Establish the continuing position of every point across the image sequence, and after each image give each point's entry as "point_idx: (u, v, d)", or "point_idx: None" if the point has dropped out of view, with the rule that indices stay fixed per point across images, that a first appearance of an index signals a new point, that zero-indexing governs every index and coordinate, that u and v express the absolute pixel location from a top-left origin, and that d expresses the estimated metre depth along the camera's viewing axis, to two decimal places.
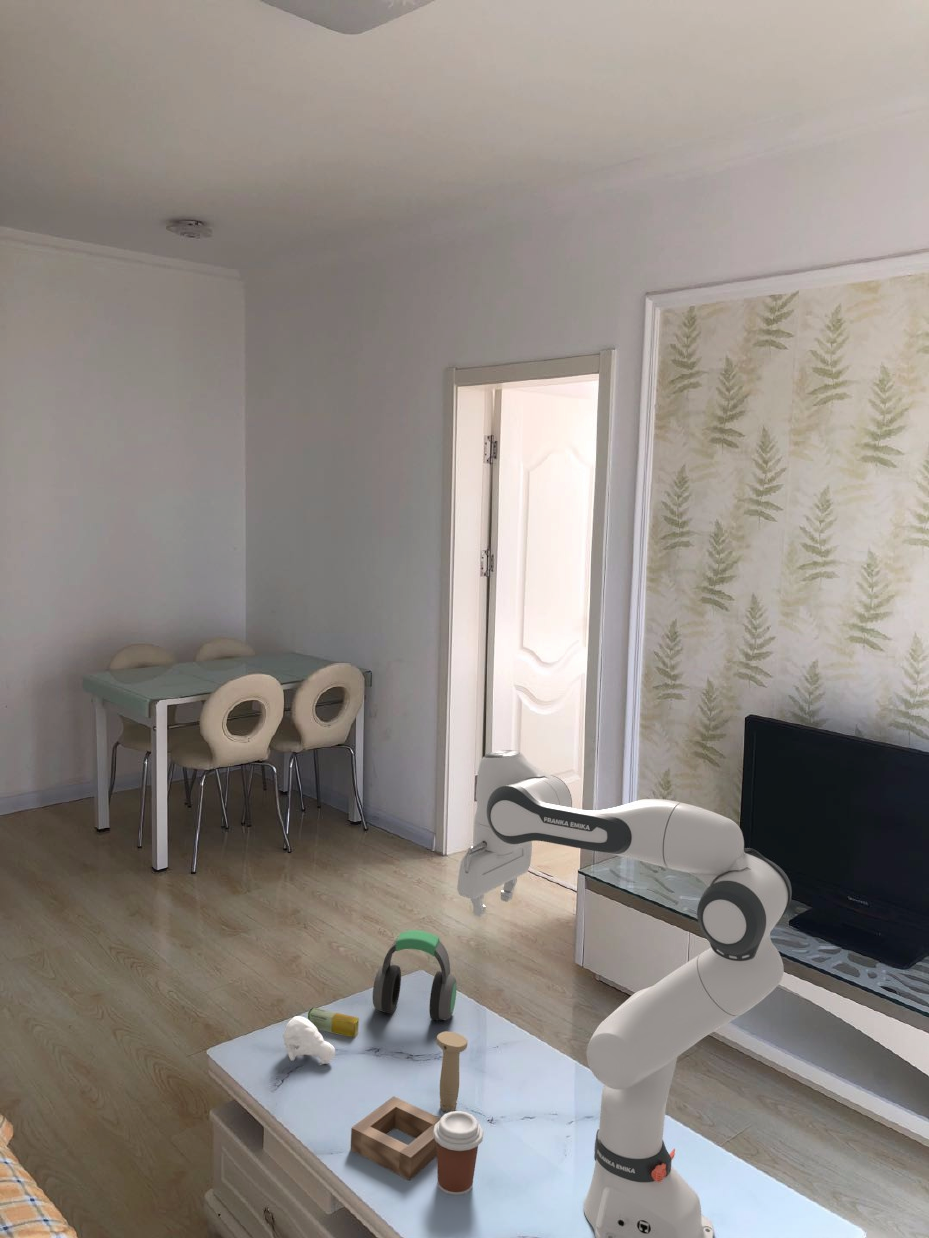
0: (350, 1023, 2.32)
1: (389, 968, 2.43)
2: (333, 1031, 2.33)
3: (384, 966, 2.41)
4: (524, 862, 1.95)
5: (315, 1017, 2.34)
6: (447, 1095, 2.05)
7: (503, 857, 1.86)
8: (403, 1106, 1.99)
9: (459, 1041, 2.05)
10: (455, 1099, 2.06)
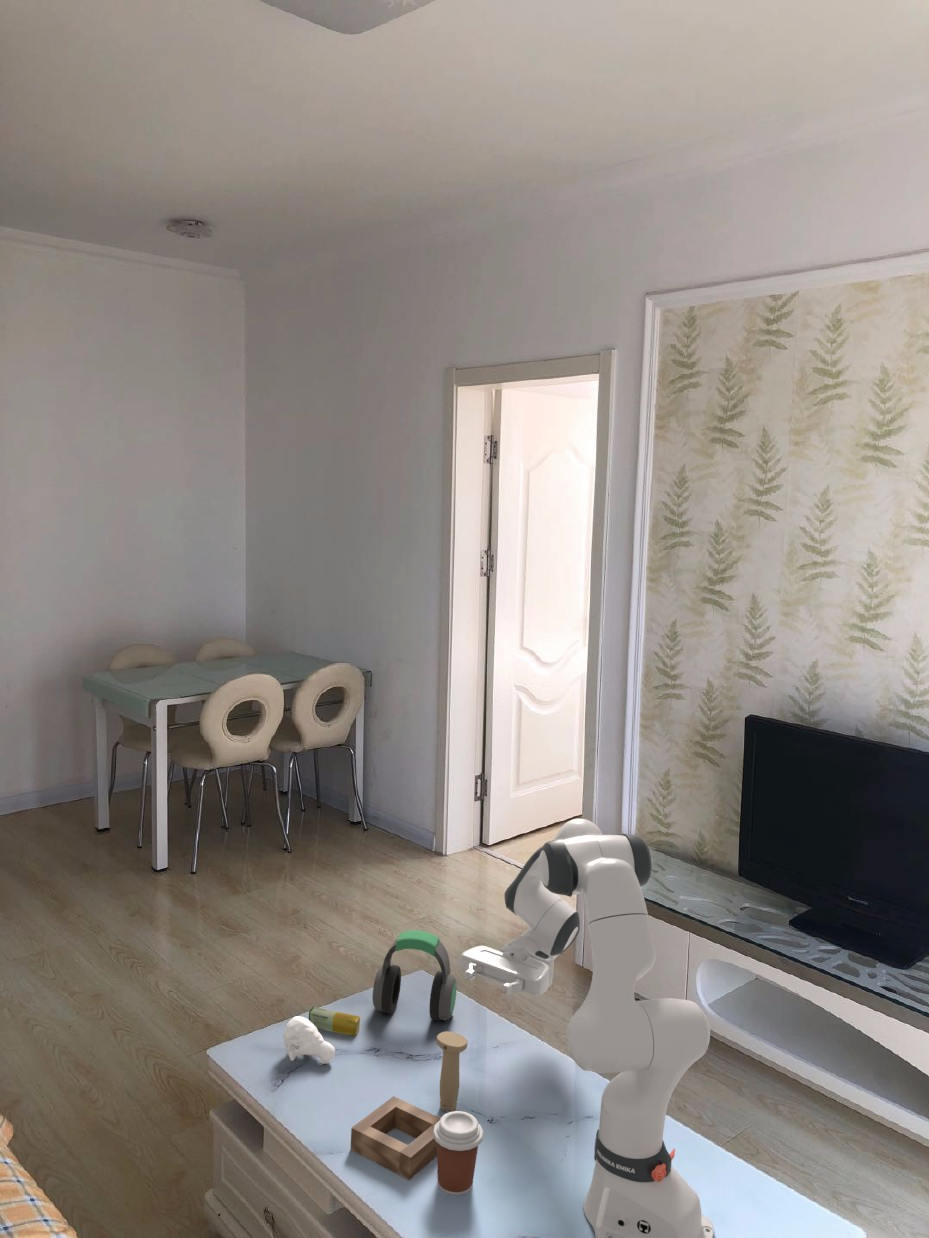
0: (351, 1022, 2.32)
1: (389, 968, 2.43)
2: (334, 1030, 2.34)
3: (384, 966, 2.41)
4: (534, 974, 2.16)
5: (316, 1016, 2.34)
6: (447, 1095, 2.05)
7: (506, 951, 2.24)
8: (403, 1106, 1.99)
9: (459, 1041, 2.05)
10: (455, 1099, 2.06)
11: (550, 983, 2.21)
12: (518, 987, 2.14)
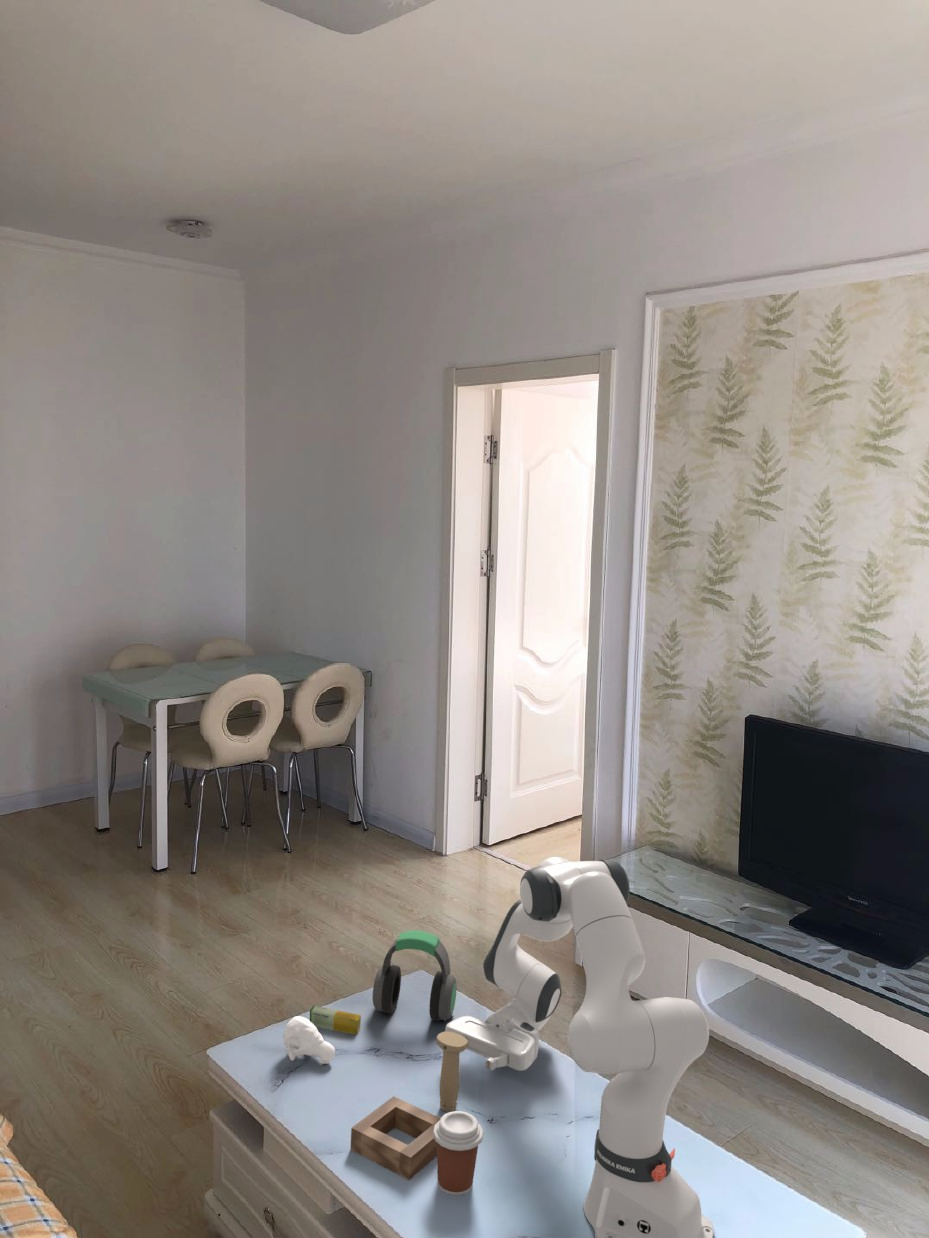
0: (352, 1020, 2.33)
1: (389, 968, 2.43)
2: (335, 1029, 2.34)
3: (384, 966, 2.41)
4: (519, 1048, 2.13)
5: (317, 1015, 2.35)
6: (447, 1095, 2.05)
7: (491, 1022, 2.21)
8: (403, 1106, 1.99)
9: (459, 1041, 2.05)
10: (455, 1099, 2.06)
11: (535, 1056, 2.18)
12: (502, 1062, 2.11)
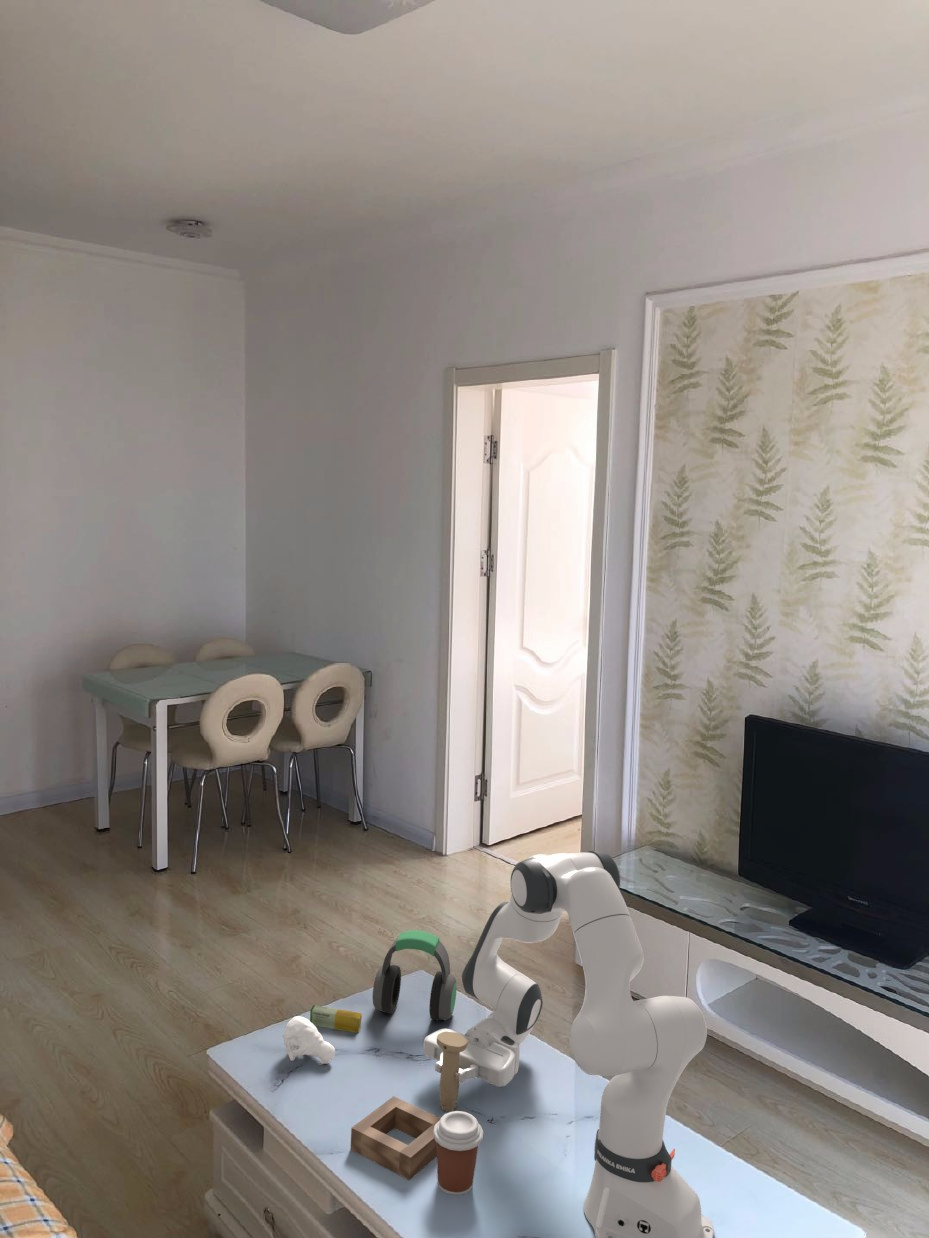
0: (354, 1019, 2.34)
1: (389, 968, 2.43)
2: (336, 1027, 2.35)
3: (384, 966, 2.41)
4: (499, 1063, 2.07)
5: (318, 1014, 2.35)
6: (447, 1095, 2.05)
7: (470, 1036, 2.15)
8: (403, 1106, 1.99)
9: (459, 1041, 2.05)
10: (455, 1099, 2.06)
11: (516, 1070, 2.12)
12: (472, 1073, 2.06)
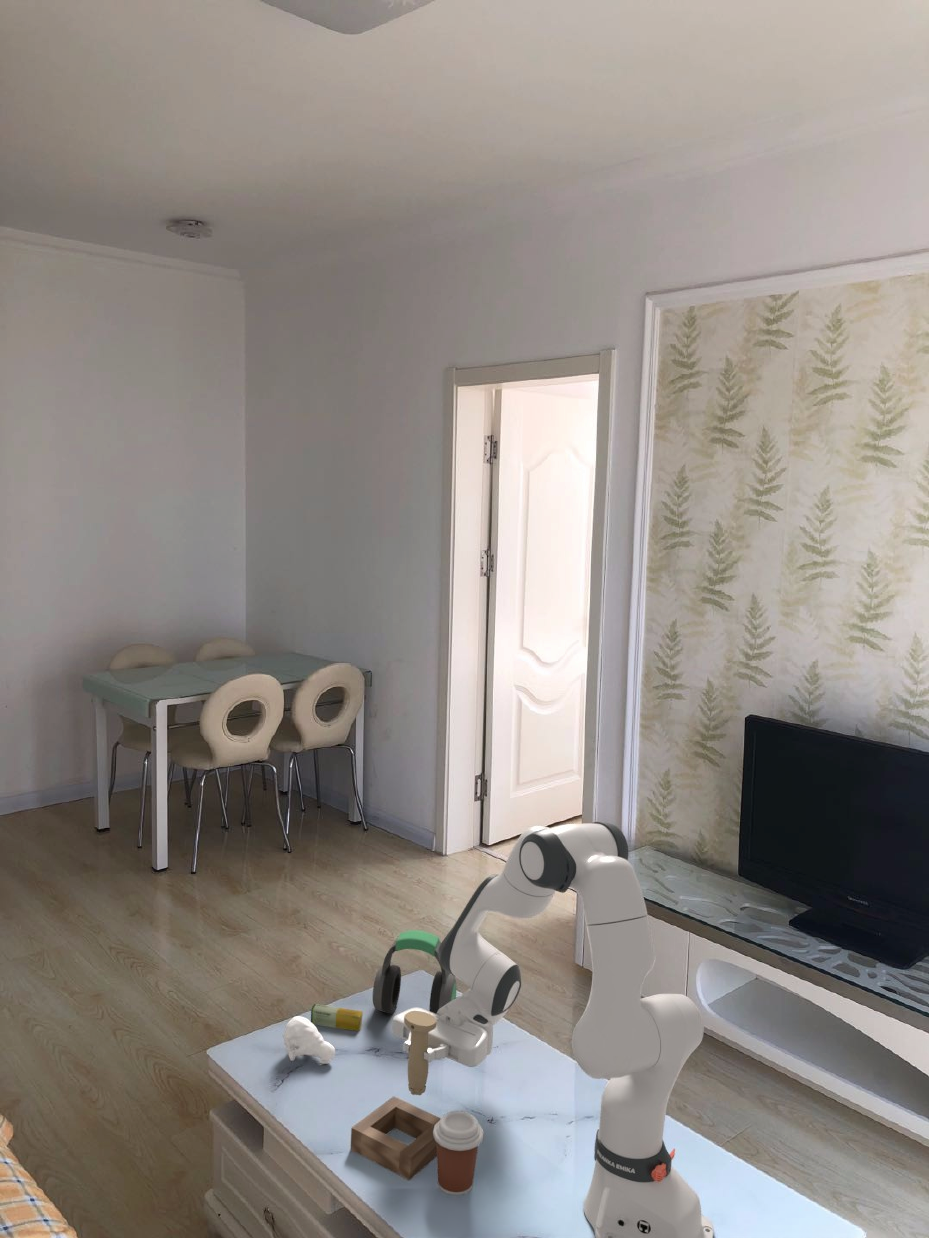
0: (355, 1017, 2.34)
1: (389, 968, 2.43)
2: (337, 1026, 2.36)
3: (384, 966, 2.41)
4: (470, 1042, 1.96)
5: (319, 1013, 2.36)
6: (416, 1078, 1.94)
7: (442, 1015, 2.04)
8: (403, 1106, 1.99)
9: (427, 1020, 1.94)
10: (424, 1082, 1.95)
11: (489, 1051, 2.01)
12: (442, 1053, 1.95)
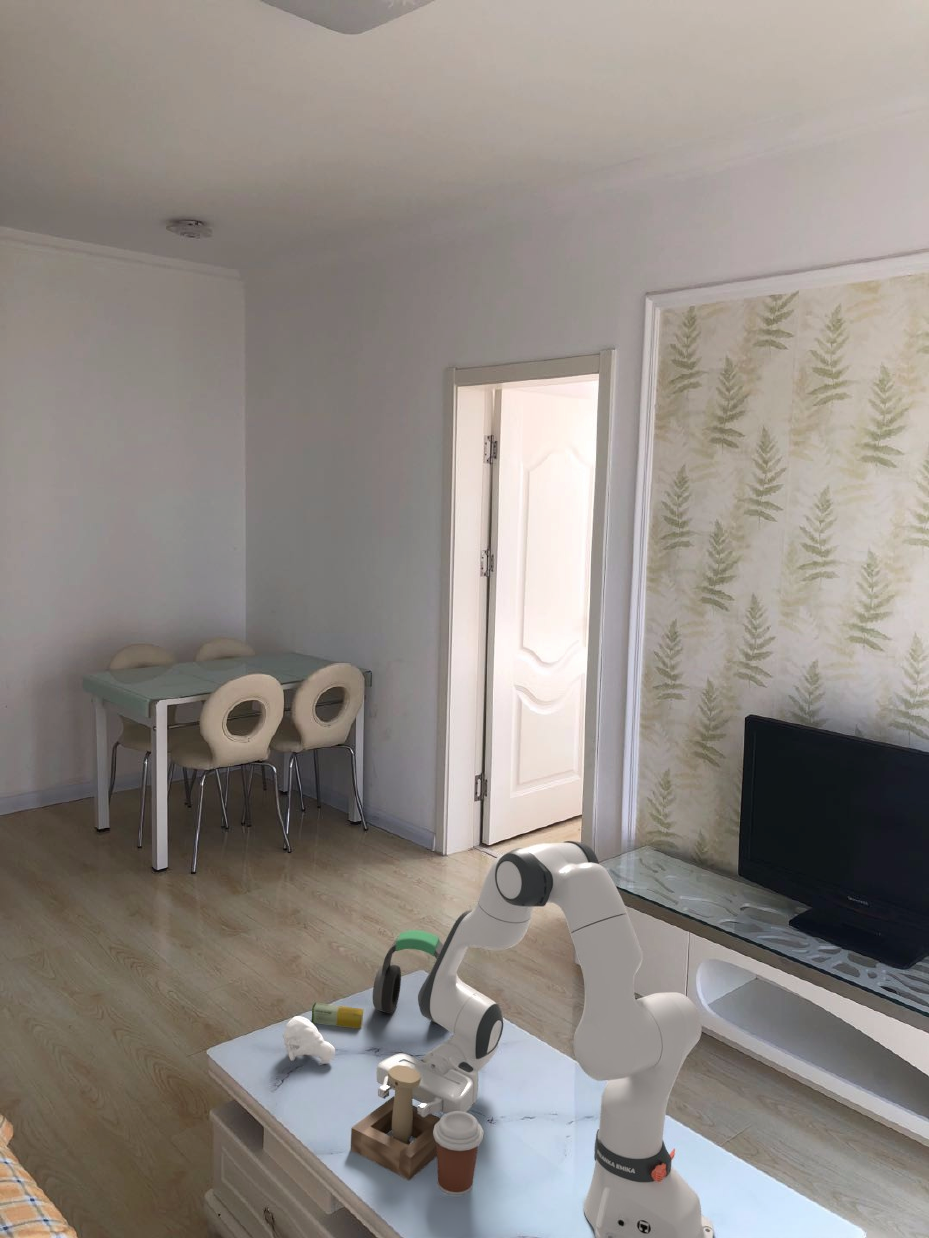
0: (356, 1015, 2.35)
1: (389, 968, 2.43)
2: (338, 1024, 2.36)
3: (384, 966, 2.41)
4: (455, 1091, 1.93)
5: (320, 1011, 2.37)
6: (400, 1134, 1.92)
7: (427, 1062, 2.01)
8: None
9: (411, 1076, 1.91)
10: (408, 1138, 1.92)
11: (475, 1099, 1.98)
12: (436, 1108, 1.91)
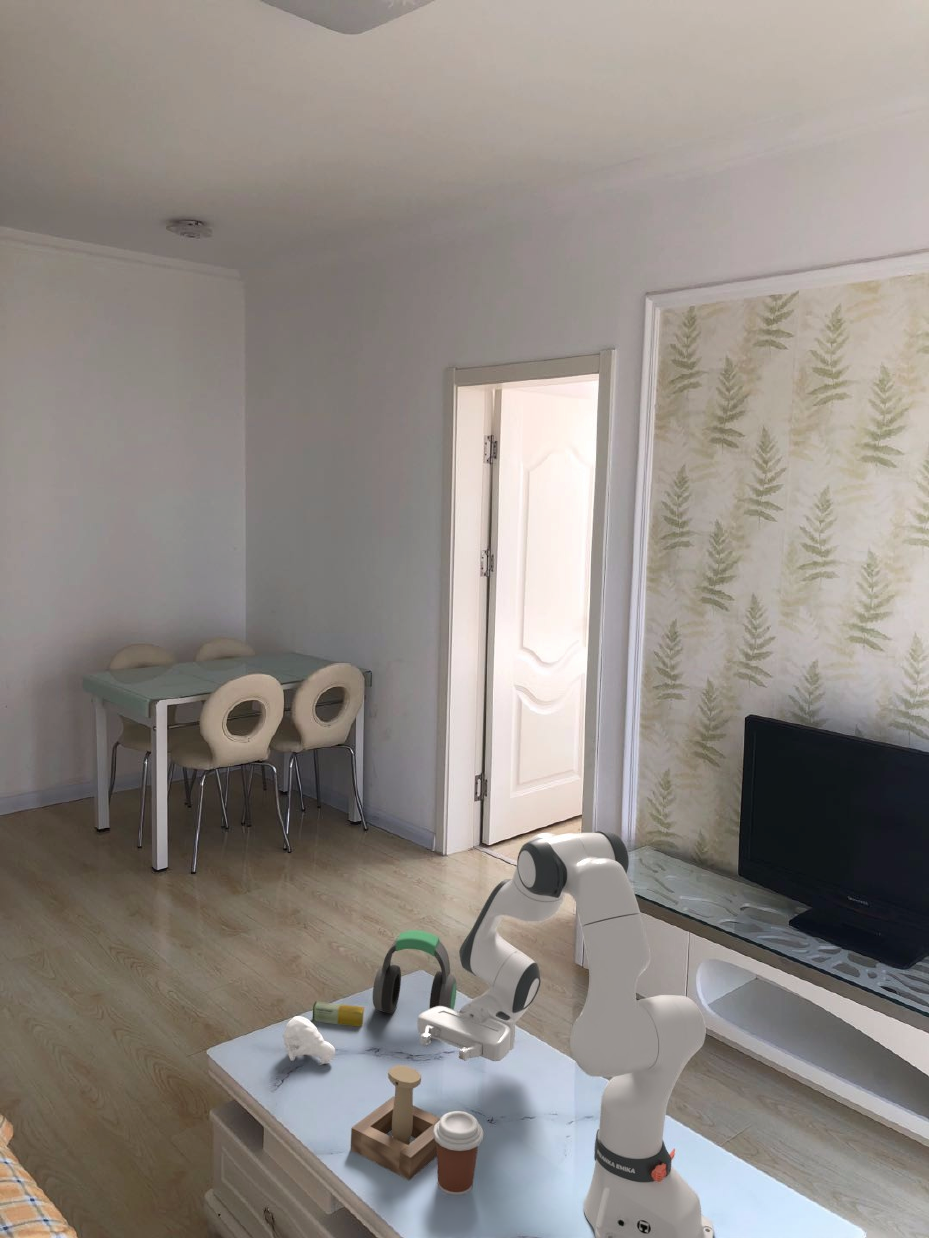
0: (357, 1013, 2.36)
1: (389, 968, 2.43)
2: (339, 1022, 2.37)
3: (384, 966, 2.41)
4: (494, 1037, 2.03)
5: (321, 1010, 2.37)
6: (400, 1134, 1.92)
7: (465, 1012, 2.11)
8: None
9: (412, 1076, 1.91)
10: (408, 1138, 1.92)
11: (512, 1046, 2.08)
12: (476, 1052, 2.01)
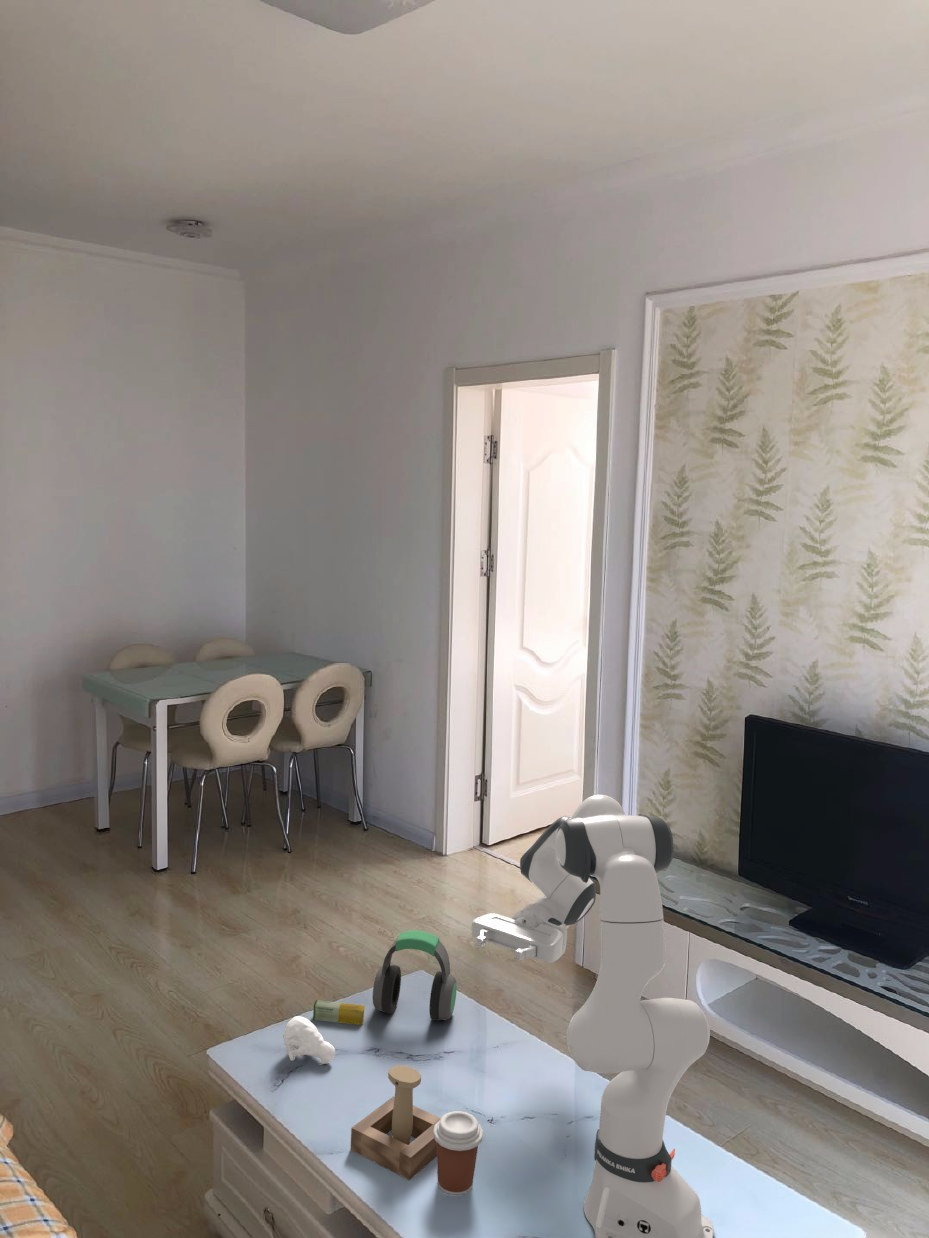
0: (358, 1011, 2.37)
1: (389, 968, 2.43)
2: (340, 1021, 2.38)
3: (384, 966, 2.41)
4: (547, 940, 2.10)
5: (322, 1008, 2.38)
6: (400, 1134, 1.92)
7: (518, 918, 2.18)
8: None
9: (412, 1076, 1.91)
10: (408, 1138, 1.92)
11: (563, 950, 2.15)
12: (531, 953, 2.08)
